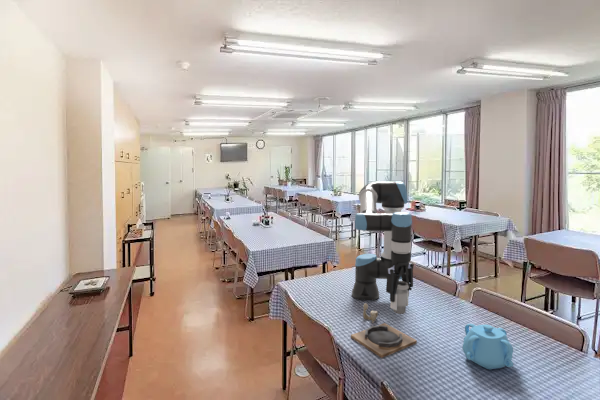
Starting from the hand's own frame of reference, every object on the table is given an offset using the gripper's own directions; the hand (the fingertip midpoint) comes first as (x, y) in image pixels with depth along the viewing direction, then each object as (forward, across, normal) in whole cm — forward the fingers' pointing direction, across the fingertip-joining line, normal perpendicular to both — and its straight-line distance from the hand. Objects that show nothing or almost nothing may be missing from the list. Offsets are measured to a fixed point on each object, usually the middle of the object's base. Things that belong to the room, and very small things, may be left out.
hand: (399, 306), depth 133 cm
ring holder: (+16, +3, -6) cm, 17 cm away
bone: (+17, -6, -21) cm, 28 cm away
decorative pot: (+16, -18, +26) cm, 36 cm away
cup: (+2, 0, 0) cm, 2 cm away
